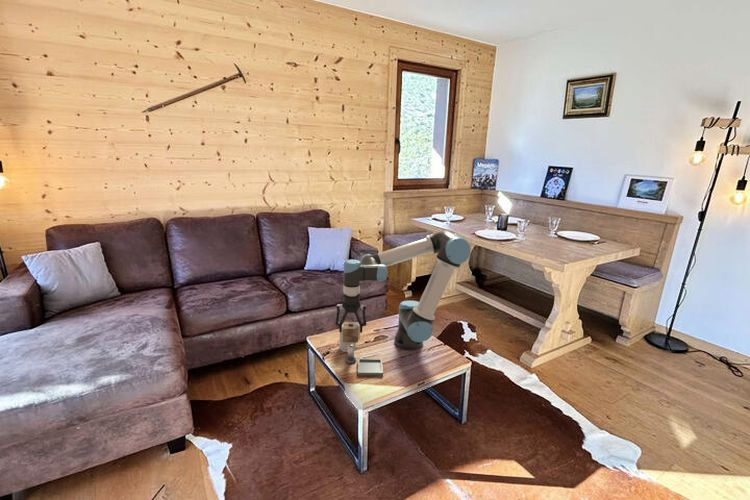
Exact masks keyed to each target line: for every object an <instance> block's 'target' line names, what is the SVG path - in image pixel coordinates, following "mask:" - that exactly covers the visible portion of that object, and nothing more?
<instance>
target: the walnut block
mask: <svg viewBox="0 0 750 500" xmlns="http://www.w3.org/2000/svg"><path fill="white" fill-rule="evenodd" d="M343 324H344V325H343V342H350V343H359V340H358V325H359V323H358V321H344V322H343Z"/></svg>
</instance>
